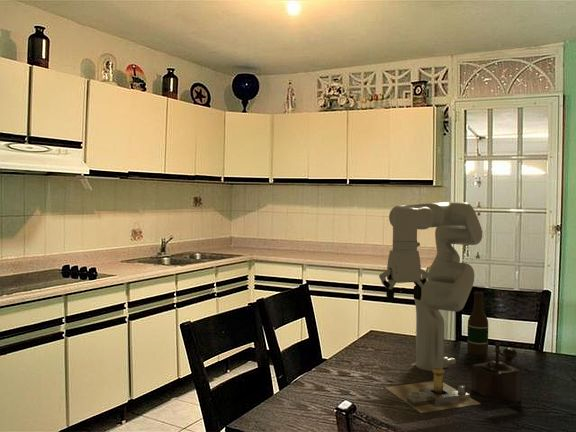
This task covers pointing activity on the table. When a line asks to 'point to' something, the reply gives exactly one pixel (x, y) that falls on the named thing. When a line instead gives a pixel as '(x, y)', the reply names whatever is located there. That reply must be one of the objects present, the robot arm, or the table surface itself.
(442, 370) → the brass pin
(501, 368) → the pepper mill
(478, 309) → the beer bottle
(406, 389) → the maple board
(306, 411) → the table surface
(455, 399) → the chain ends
